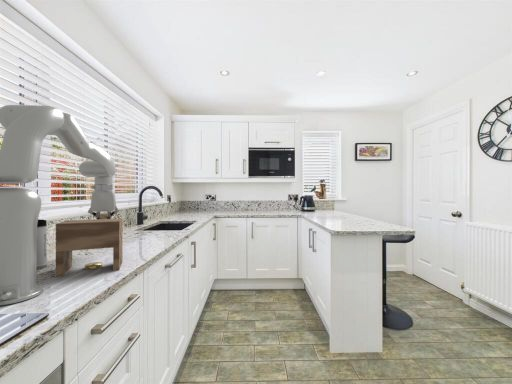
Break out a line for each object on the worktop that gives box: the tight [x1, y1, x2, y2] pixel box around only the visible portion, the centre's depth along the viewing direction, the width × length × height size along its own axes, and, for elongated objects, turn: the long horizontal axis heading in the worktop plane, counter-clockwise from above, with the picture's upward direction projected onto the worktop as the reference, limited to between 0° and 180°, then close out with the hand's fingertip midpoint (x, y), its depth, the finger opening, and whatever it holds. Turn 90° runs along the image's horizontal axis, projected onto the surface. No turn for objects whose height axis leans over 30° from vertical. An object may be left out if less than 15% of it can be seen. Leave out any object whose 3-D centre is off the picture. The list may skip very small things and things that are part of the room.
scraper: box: [100, 212, 108, 219], centre depth 113 cm, size 19×8×7 cm, turn 23°
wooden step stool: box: [55, 218, 124, 278], centre depth 97 cm, size 13×20×19 cm, turn 113°
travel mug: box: [36, 218, 48, 271], centre depth 98 cm, size 6×7×20 cm
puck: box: [84, 261, 103, 270], centre depth 99 cm, size 6×6×2 cm
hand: (103, 225), depth 120 cm, fingers closed on scraper, 3 cm apart
